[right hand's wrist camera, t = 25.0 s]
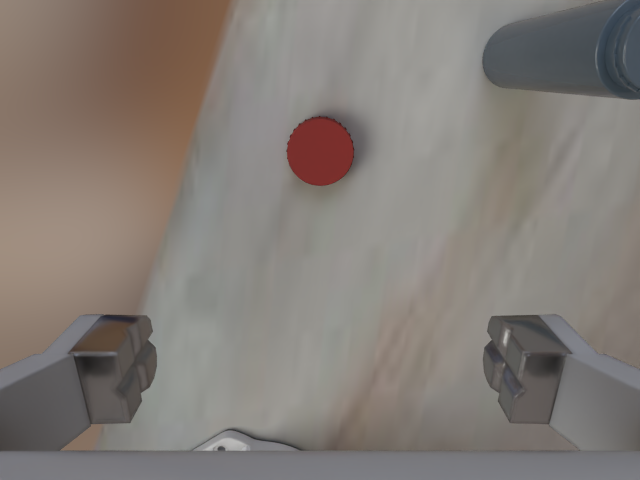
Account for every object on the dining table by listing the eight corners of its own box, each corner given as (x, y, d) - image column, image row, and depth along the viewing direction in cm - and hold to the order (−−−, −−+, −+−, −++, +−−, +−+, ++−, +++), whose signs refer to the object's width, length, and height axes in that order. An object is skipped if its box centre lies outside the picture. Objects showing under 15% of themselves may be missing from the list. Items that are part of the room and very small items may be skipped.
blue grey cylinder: (469, 59, 33) (591, 49, 18) (517, 8, 32) (689, -47, 17) (508, 101, 34) (653, 124, 19) (555, 53, 33) (750, 38, 18)
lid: (356, 177, 36) (357, 182, 35) (292, 185, 37) (291, 190, 35) (349, 111, 34) (350, 113, 33) (282, 120, 35) (281, 123, 33)
